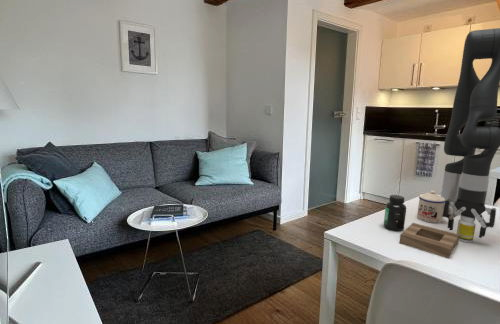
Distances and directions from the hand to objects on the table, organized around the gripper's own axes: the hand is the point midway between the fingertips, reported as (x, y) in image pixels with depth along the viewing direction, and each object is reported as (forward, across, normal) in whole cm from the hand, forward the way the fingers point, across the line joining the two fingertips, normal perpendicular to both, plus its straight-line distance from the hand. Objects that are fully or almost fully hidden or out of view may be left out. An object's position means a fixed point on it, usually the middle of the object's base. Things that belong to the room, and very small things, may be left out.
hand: (465, 233), depth 102 cm
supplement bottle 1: (+3, +21, +7) cm, 22 cm away
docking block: (+2, +8, +12) cm, 14 cm away
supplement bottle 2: (+2, 0, 0) cm, 2 cm away
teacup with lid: (+2, +12, -12) cm, 17 cm away
